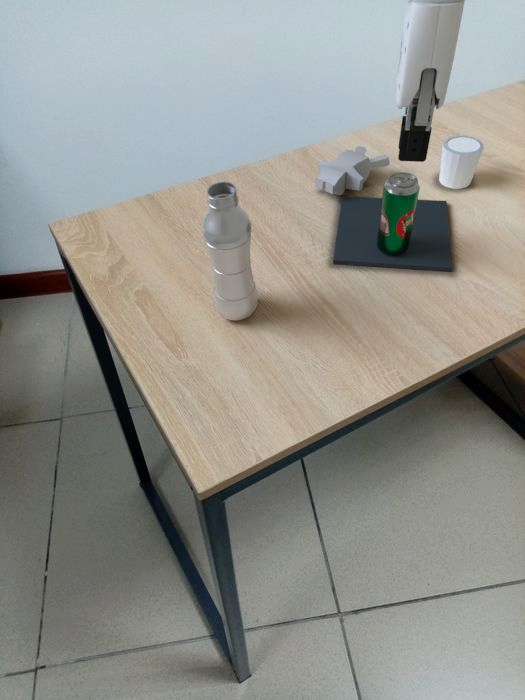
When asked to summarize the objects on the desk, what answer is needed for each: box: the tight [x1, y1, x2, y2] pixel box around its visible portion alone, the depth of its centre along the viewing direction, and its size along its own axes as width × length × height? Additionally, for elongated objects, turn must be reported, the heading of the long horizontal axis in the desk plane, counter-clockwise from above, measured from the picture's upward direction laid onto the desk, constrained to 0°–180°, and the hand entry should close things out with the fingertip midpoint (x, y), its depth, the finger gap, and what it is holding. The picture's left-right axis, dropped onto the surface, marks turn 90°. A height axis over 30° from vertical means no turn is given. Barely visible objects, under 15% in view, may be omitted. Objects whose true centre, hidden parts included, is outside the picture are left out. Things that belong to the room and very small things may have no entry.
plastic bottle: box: [201, 181, 259, 321], centre depth 71 cm, size 6×7×20 cm
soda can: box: [377, 171, 421, 256], centre depth 80 cm, size 5×5×12 cm
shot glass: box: [438, 135, 485, 190], centre depth 95 cm, size 7×7×7 cm
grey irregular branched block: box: [315, 145, 391, 196], centre depth 97 cm, size 10×5×15 cm
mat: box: [332, 195, 453, 273], centre depth 88 cm, size 18×18×1 cm
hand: (411, 153), depth 64 cm, fingers closed
